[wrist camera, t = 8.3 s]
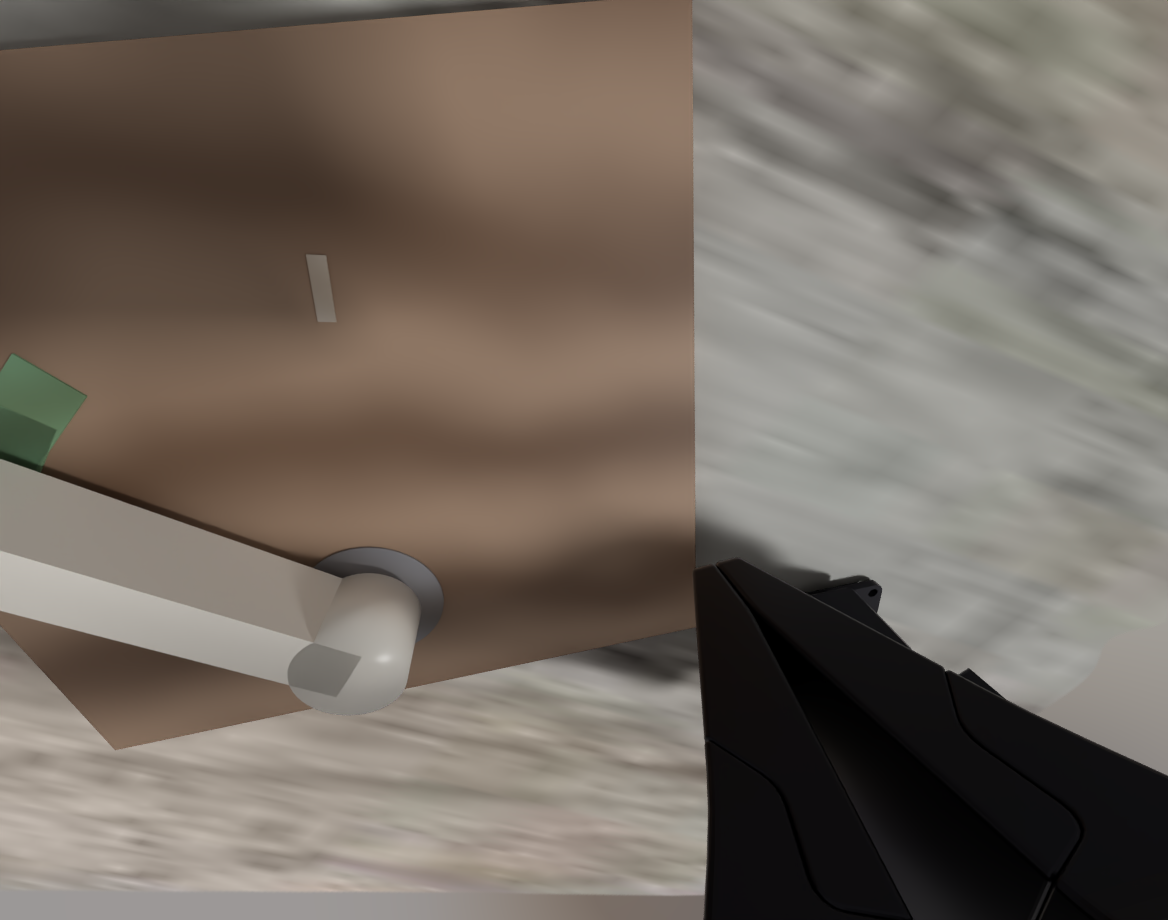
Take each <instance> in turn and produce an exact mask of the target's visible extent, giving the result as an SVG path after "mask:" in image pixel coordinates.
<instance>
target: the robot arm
mask: <svg viewBox="0 0 1168 920" xmlns="http://www.w3.org/2000/svg"><path fill="white" fill-rule="evenodd" d="M692 579H693V592H694V606H695V619H696V632H697V646H698V659H699V673H700V686H701V700H702V713H703V727H704V739H705V758H706V771H707V797H708V834H707V866H706V883H705V902H704V918H703V920H1168V776H1167V775H1165V774H1163V773H1161V772H1158V771H1156V770H1154V769H1152V768H1150V767H1148V766H1145V765H1143V764H1141V763H1139V762H1136V761H1134V760H1132V759H1130V758H1127V757H1126V756H1123V755H1121V754H1119V753H1117V752H1114V751H1112V750H1110V749H1108V748H1106V747H1104V746H1101V745H1099V744H1097V743H1095V742H1092V741H1090V740H1088V739H1086V738H1084V737H1082V736H1080V735H1078V734H1075V733H1073V732H1071V731H1069V730H1067V729H1065V728H1063V727H1061V726H1059V725H1057V724H1054V723H1052V722H1050V721H1048V720H1046V719H1044V718H1042V717H1040V716H1037V715H1035V714H1033V713H1031V712H1029V711H1027V710H1025V709H1023V708H1021V707H1019V706H1017V705H1015V704H1014V703H1012V702H1010V701H1008V700H1006V699H1005V698H1004V697H1002V696H1001V695H1000V694H999V693H998V692H997V691H995V690H994V689H993V688H992V687H991V686H989V685H988V684H987V683H986V682H985V681H983V680H982V679H981V678H980V677H979V676H978V675H976V674H975V673H974V672H973V671H972V670H970V669H969V668H968V669H966V670H965V671H963V672H961V673H960V674H956V673H954V672H952V671H950V670H948V671H946V672H945V669H944V668H943V667H942V666H941V665H939V664H937V663H935V662H933V661H931V660H930V659H928V658H926V657H924V656H922V655H920V654H918V653H916V652H915V651H913V650H912V649H911V648H910V647H909V646H908V645H907V644H906V643H905V642H904V641H903V640H902V639H901V638H900V636H899V635H898V634H897V633H896V632H895V631H894V630H893V629H892V628H891V627H890V626H889V625H888V624H887V623H886V622H885V621H884V620H883V619H882V618H881V617H880V616H879V615H878V614H877V611H878V607H879V602H880V598H881V593H882V588H881V586H880V585H879V584H878V583H876V582H875V581H873V580H868V581H863V582H859V583H854V584H849V585H844V586H839V587H835V588H830V589H825V590H820V591H816V592H811V593H804V592H803V591H801V590H799V589H797V588H795V587H793V586H791V585H790V584H788V583H786V582H784V581H782V580H780V579H778V578H777V577H775V576H773V575H771V574H769V573H767V572H765V571H763V570H762V569H760V568H758V567H756V566H754V565H752V564H750V563H749V562H747V561H745V560H743V559H741V558H738V557H735V558H731V559H727V560H724V561H720V562H718V563H717V564H716V565H713V564H709V565H706V566H702V567H699V568H695V569H694V570H693V571H692Z"/></svg>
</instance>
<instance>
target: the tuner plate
mask: <svg viewBox="0 0 1168 920" xmlns="http://www.w3.org/2000/svg"><path fill="white" fill-rule="evenodd" d="M0 459H2V460H5V461H8V462H11V463H14V464H17V465H19V466H22V467H25V468H28V469H31V470H34V471H37V472H39V473H42V474H45V475H48V476H51V477H54V478H57V479H59V480H62V481H65V482H68V483H71V484H74V485H77V486H80V487H82V488H85V489H88V490H91V491H94V492H97V493H100V494H102V495H105V496H108V497H111V498H114V499H117V500H120V501H122V502H125V503H128V504H131V505H134V506H137V507H140V508H142V509H145V510H148V511H151V512H154V513H157V514H160V515H162V516H165V517H168V518H171V519H174V520H177V521H180V522H182V523H185V524H188V525H191V526H194V527H197V528H200V529H203V530H205V531H208V532H211V533H214V534H217V535H220V536H223V537H225V538H228V539H231V540H234V541H237V542H240V543H243V544H245V545H248V546H251V547H254V548H257V549H260V550H263V551H265V552H268V553H271V554H274V555H277V556H280V557H283V558H285V559H288V560H291V561H294V562H297V563H300V564H303V565H305V566H308V567H311V568H314V569H317V570H320V571H323V572H325V573H328V574H331V575H334V576H337V577H340V578H344V577H347V576H351V575H355V574H362V573H375V574H382V575H387V576H390V577H393V578H395V579H397V580H399V581H401V582H403V583H404V584H406V585H407V586H408V587H409V588H411V589H412V590H413V592H414V593H415V594H416V596H417V598H418V600H419V602H420V606H421V616H420V621H419V626H418V631H417V636H416V641H415V645H414V650H413V655H412V660H411V665H410V670H409V675H408V680H407V684H406V687H405V689H406V688H411V687H416V686H421V685H425V684H430V683H435V682H440V681H444V680H449V679H454V678H458V677H463V676H468V675H473V674H477V673H482V672H487V671H492V670H496V669H501V668H506V667H510V666H515V665H520V664H525V663H529V662H534V661H539V660H544V659H548V658H553V657H558V656H562V655H567V654H572V653H577V652H581V651H586V650H591V649H595V648H600V647H605V646H610V645H614V644H619V643H624V642H629V641H633V640H638V639H643V638H647V637H652V636H657V635H662V634H666V633H671V632H676V631H681V630H685V629H690V628H695V627H696V619H695V606H694V592H693V579H692V571H693V570H694V569H695V401H694V234H693V66H692V0H602V1H590V2H578V3H566V4H553V5H541V6H529V7H517V8H505V9H493V10H481V11H469V12H457V13H444V14H432V15H420V16H408V17H396V18H384V19H372V20H360V21H348V22H336V23H323V24H311V25H299V26H287V27H275V28H263V29H251V30H239V31H227V32H214V33H202V34H190V35H178V36H166V37H154V38H142V39H130V40H118V41H105V42H93V43H81V44H69V45H57V46H45V47H33V48H21V49H9V50H0ZM0 625H1V627H2V628H3V629H4V630H5V631H6V632H7V633H8V634H9V635H10V636H11V637H12V639H13V640H14V641H15V642H16V643H17V644H18V645H19V646H20V647H21V648H22V649H23V650H24V652H25V653H26V654H27V655H28V656H29V657H30V658H31V659H32V660H33V661H34V662H35V664H36V665H37V666H38V667H39V668H40V669H41V670H42V671H43V672H44V673H45V674H46V675H47V677H48V678H49V679H50V680H51V681H52V682H53V683H54V684H55V685H56V686H57V687H58V689H59V690H60V691H61V692H62V693H63V694H64V695H65V696H66V697H67V698H68V699H69V700H70V702H71V703H72V704H73V705H74V706H75V707H76V708H77V709H78V710H79V711H80V712H81V714H82V715H83V716H84V717H85V718H86V719H87V720H88V721H89V722H90V723H91V724H92V725H93V727H94V728H95V729H96V730H97V731H98V732H99V733H100V734H101V735H102V736H103V737H104V739H105V740H106V741H107V742H108V743H109V744H110V745H111V746H112V747H113V748H114V749H115V750H118V749H123V748H128V747H132V746H137V745H142V744H147V743H151V742H156V741H161V740H165V739H170V738H175V737H180V736H184V735H189V734H194V733H199V732H203V731H208V730H213V729H217V728H222V727H227V726H232V725H236V724H241V723H246V722H251V721H255V720H260V719H265V718H269V717H274V716H279V715H284V714H288V713H293V712H298V711H303V710H307V709H312V707H310V706H308V705H307V704H305V703H304V702H302V701H301V700H300V699H299V698H297V696H296V695H295V694H294V693H293V692H292V690H291V688H290V686H289V685H286V684H282V683H278V682H275V681H271V680H267V679H263V678H259V677H255V676H251V675H247V674H243V673H240V672H236V671H232V670H228V669H224V668H220V667H216V666H212V665H209V664H205V663H201V662H197V661H193V660H189V659H185V658H181V657H178V656H174V655H170V654H166V653H162V652H158V651H154V650H150V649H146V648H143V647H139V646H135V645H131V644H127V643H123V642H119V641H115V640H112V639H108V638H104V637H100V636H96V635H92V634H88V633H84V632H81V631H77V630H73V629H69V628H65V627H61V626H57V625H53V624H49V623H46V622H42V621H38V620H34V619H30V618H26V617H22V616H18V615H15V614H11V613H7V612H3V611H0Z"/></svg>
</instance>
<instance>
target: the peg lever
mask: <svg viewBox="0 0 1168 920" xmlns="http://www.w3.org/2000/svg"><path fill="white" fill-rule="evenodd" d="M0 611H3V612H7V613H11V614H15V615H18V616H22V617H26V618H30V619H34V620H38V621H42V622H46V623H49V624H53V625H57V626H61V627H65V628H69V629H73V630H77V631H81V632H84V633H88V634H92V635H96V636H100V637H104V638H108V639H112V640H115V641H119V642H123V643H127V644H131V645H135V646H139V647H143V648H146V649H150V650H154V651H158V652H162V653H166V654H170V655H174V656H178V657H181V658H185V659H189V660H193V661H197V662H201V663H205V664H209V665H212V666H216V667H220V668H224V669H228V670H232V671H236V672H240V673H243V674H247V675H251V676H255V677H259V678H263V679H267V680H271V681H275V682H278V683H282V684H286V685H289V686H290V688H291V690H292V692H293V693H294V694H295V695H296V696H297V698H299V699H300V700H301V701H302V702H304V703H305V704H307V705H308V706H310V707H312V708H314V709H317V710H319V711H322V712H326V713H330V714H336V715H360V714H366V713H371V712H374V711H377V710H380V709H382V708H384V707H386V706H388V705H389V704H391V703H392V702H394V701H395V700H396V699H397V698H398V697H399V696H400V695H401V694H402V692H403V691H404V689H405V687H406V684H407V680H408V675H409V670H410V665H411V660H412V655H413V650H414V645H415V641H416V636H417V631H418V626H419V621H420V616H421V606H420V602H419V600H418V598H417V596H416V594H415V593H414V592H413V590H412V589H411V588H409V587H408V586H407V585H406V584H404V583H403V582H401V581H399V580H397V579H395V578H393V577H390V576H387V575H382V574H375V573H362V574H355V575H351V576H347V577H344V578H340V577H337V576H334V575H331V574H328V573H325V572H323V571H320V570H317V569H314V568H311V567H308V566H305V565H303V564H300V563H297V562H294V561H291V560H288V559H285V558H283V557H280V556H277V555H274V554H271V553H268V552H265V551H263V550H260V549H257V548H254V547H251V546H248V545H245V544H243V543H240V542H237V541H234V540H231V539H228V538H225V537H223V536H220V535H217V534H214V533H211V532H208V531H205V530H203V529H200V528H197V527H194V526H191V525H188V524H185V523H182V522H180V521H177V520H174V519H171V518H168V517H165V516H162V515H160V514H157V513H154V512H151V511H148V510H145V509H142V508H140V507H137V506H134V505H131V504H128V503H125V502H122V501H120V500H117V499H114V498H111V497H108V496H105V495H102V494H100V493H97V492H94V491H91V490H88V489H85V488H82V487H80V486H77V485H74V484H71V483H68V482H65V481H62V480H59V479H57V478H54V477H51V476H48V475H45V474H42V473H39V472H37V471H34V470H31V469H28V468H25V467H22V466H19V465H17V464H14V463H11V462H8V461H5V460H2V459H0Z"/></svg>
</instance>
